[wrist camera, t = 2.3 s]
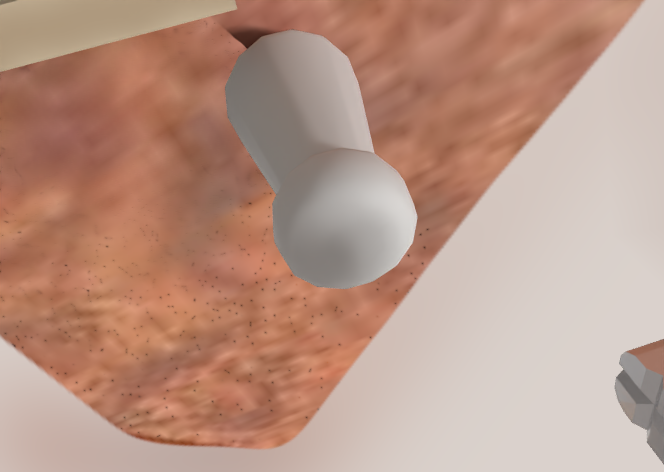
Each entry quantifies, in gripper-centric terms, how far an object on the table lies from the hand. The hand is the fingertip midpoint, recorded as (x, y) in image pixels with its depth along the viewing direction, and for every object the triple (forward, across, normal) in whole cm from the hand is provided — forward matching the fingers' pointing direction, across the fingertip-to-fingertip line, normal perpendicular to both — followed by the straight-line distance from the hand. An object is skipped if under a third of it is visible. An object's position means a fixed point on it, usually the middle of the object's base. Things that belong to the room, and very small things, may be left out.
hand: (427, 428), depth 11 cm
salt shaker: (+19, 0, 0) cm, 19 cm away
